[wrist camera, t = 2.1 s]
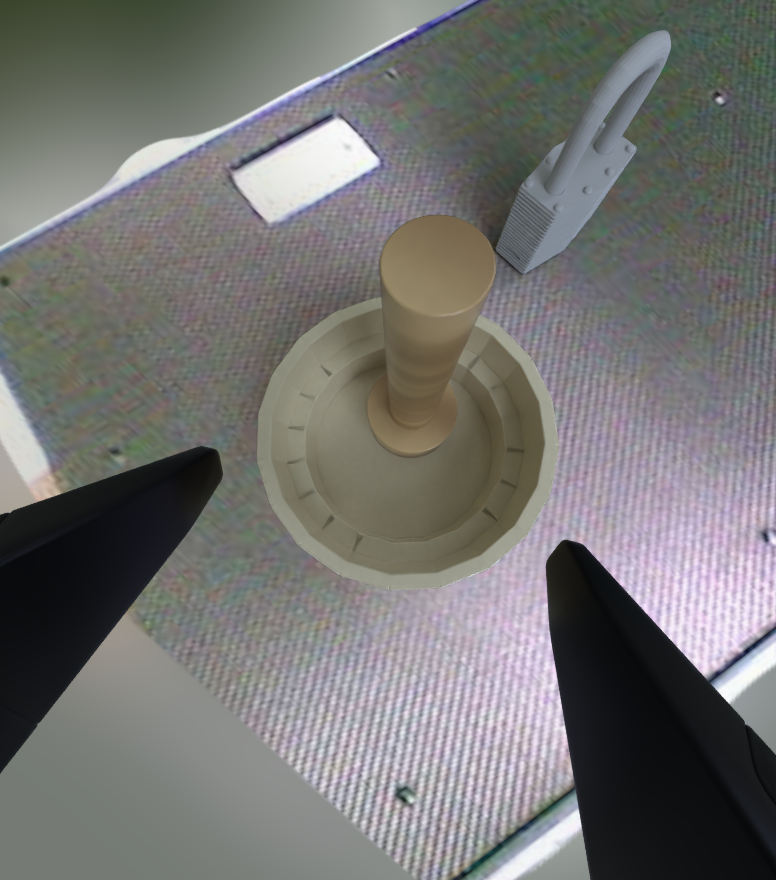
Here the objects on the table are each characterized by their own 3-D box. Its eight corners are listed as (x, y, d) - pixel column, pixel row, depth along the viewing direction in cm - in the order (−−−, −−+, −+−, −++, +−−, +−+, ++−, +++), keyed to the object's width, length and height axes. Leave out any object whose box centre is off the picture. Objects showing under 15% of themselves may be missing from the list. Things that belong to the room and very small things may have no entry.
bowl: (439, 613, 18) (457, 661, 13) (249, 479, 20) (196, 473, 15) (553, 416, 20) (610, 386, 15) (372, 310, 22) (365, 250, 17)
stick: (423, 474, 19) (481, 420, 6) (354, 429, 20) (273, 296, 7) (465, 406, 20) (599, 229, 7) (398, 366, 21) (402, 134, 8)
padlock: (554, 192, 24) (667, -26, 14) (594, 225, 23) (742, 21, 13) (487, 246, 23) (556, 57, 13) (527, 282, 22) (631, 111, 12)
